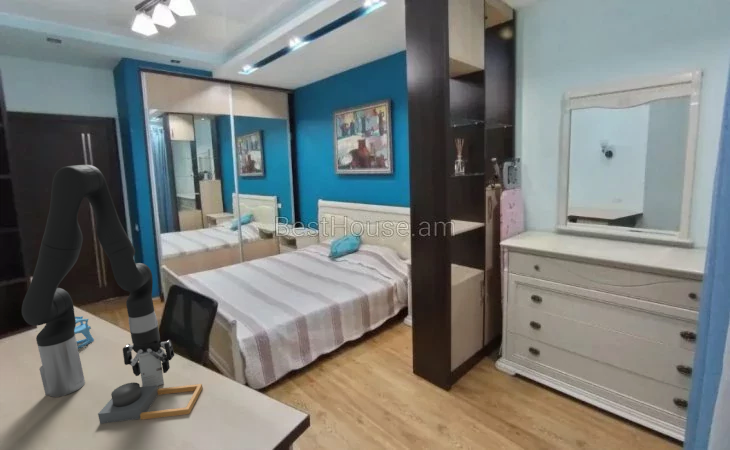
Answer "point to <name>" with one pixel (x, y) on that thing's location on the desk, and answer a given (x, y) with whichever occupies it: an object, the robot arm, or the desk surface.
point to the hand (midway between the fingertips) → (152, 373)
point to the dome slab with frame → (143, 402)
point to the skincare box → (150, 369)
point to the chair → (83, 331)
